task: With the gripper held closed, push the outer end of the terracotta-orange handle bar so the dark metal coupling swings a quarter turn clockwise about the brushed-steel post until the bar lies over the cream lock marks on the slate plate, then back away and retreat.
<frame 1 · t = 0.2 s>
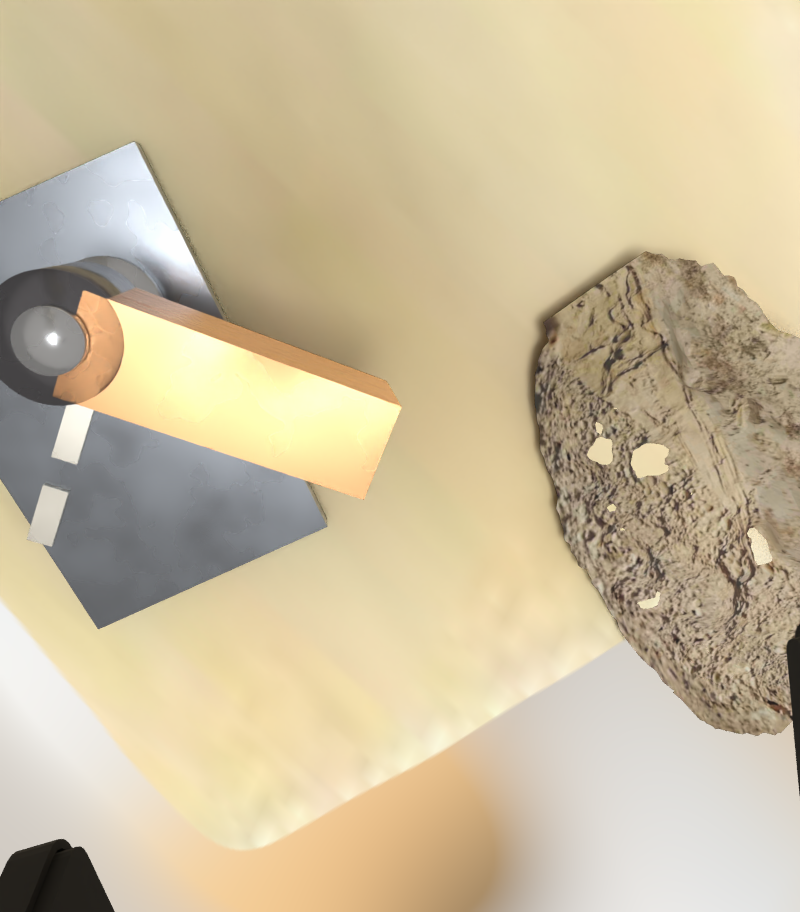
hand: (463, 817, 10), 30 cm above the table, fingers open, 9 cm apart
coupling: (201, 376, 30), point 8 cm above the table, hinge at 0.0°
post base: (120, 401, 37), on the table
stone: (700, 506, 44), on the table
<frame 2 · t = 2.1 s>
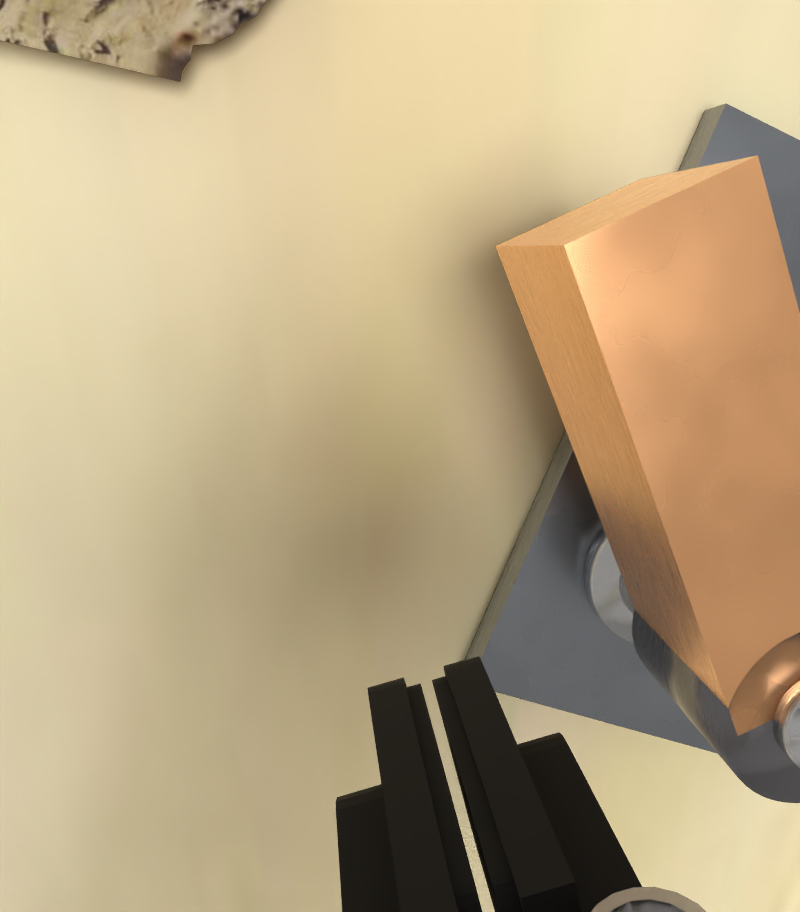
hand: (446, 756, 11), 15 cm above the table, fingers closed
coupling: (710, 502, 18), point 8 cm above the table, hinge at 0.0°
post base: (734, 470, 27), on the table
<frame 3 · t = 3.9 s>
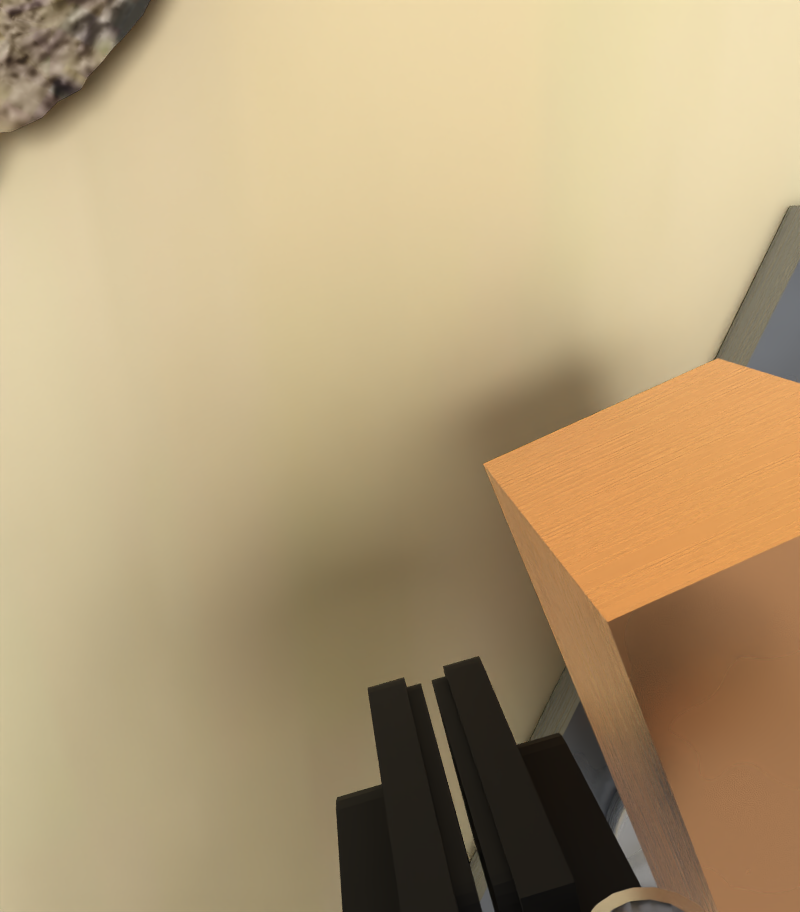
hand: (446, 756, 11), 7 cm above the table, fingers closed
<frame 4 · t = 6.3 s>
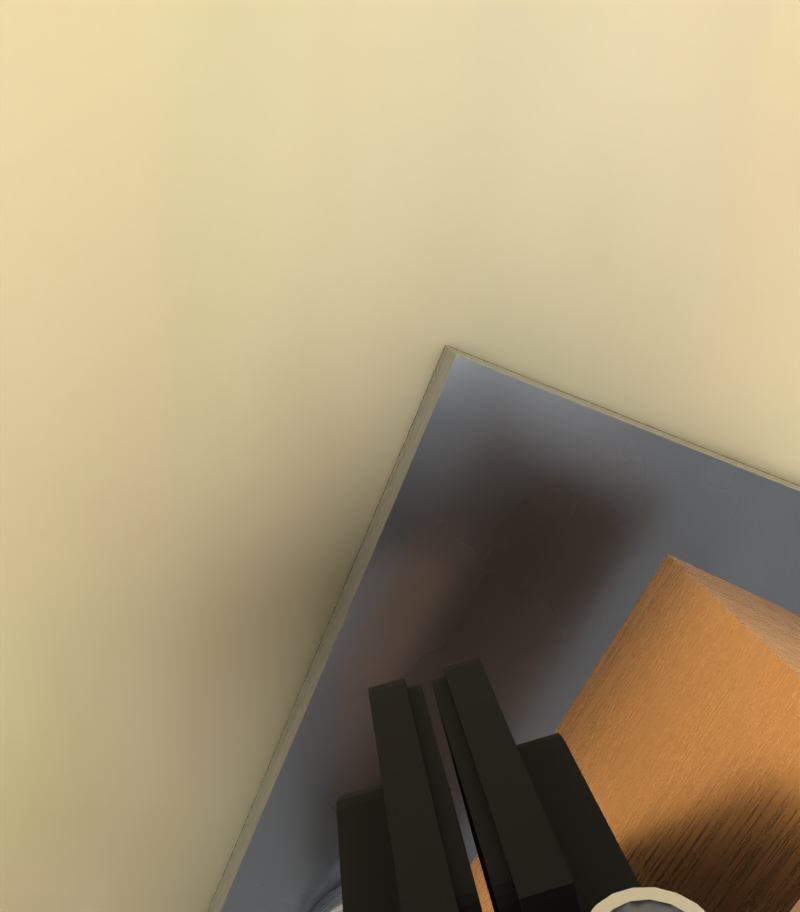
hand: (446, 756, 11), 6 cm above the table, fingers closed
post base: (523, 801, 19), on the table
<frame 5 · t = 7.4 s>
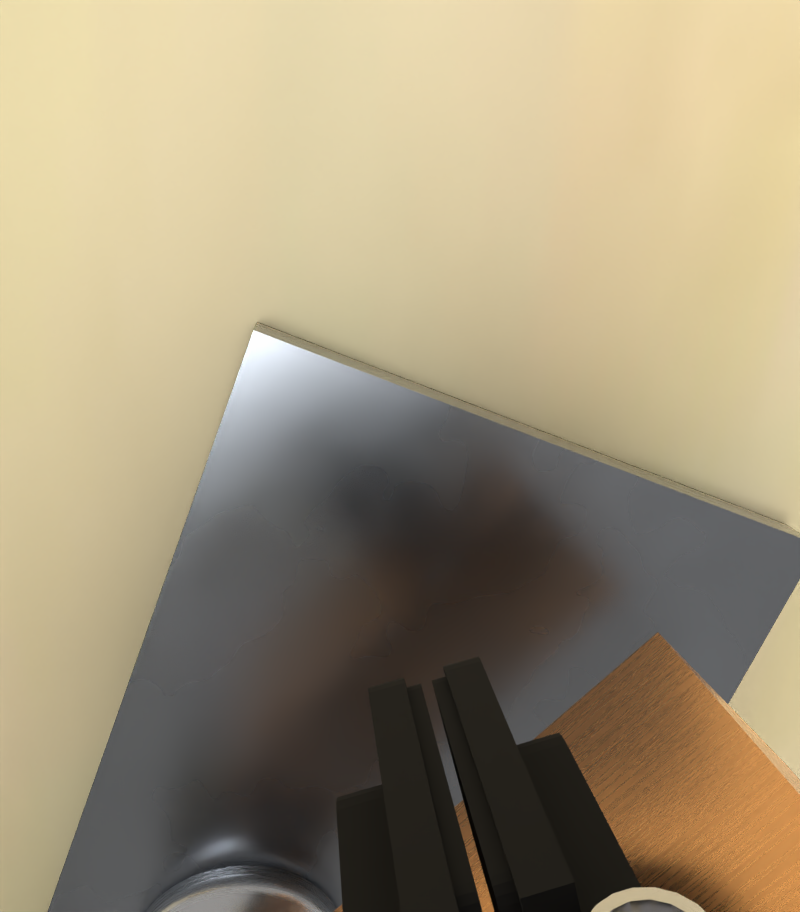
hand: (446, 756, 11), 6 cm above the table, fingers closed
post base: (375, 798, 19), on the table
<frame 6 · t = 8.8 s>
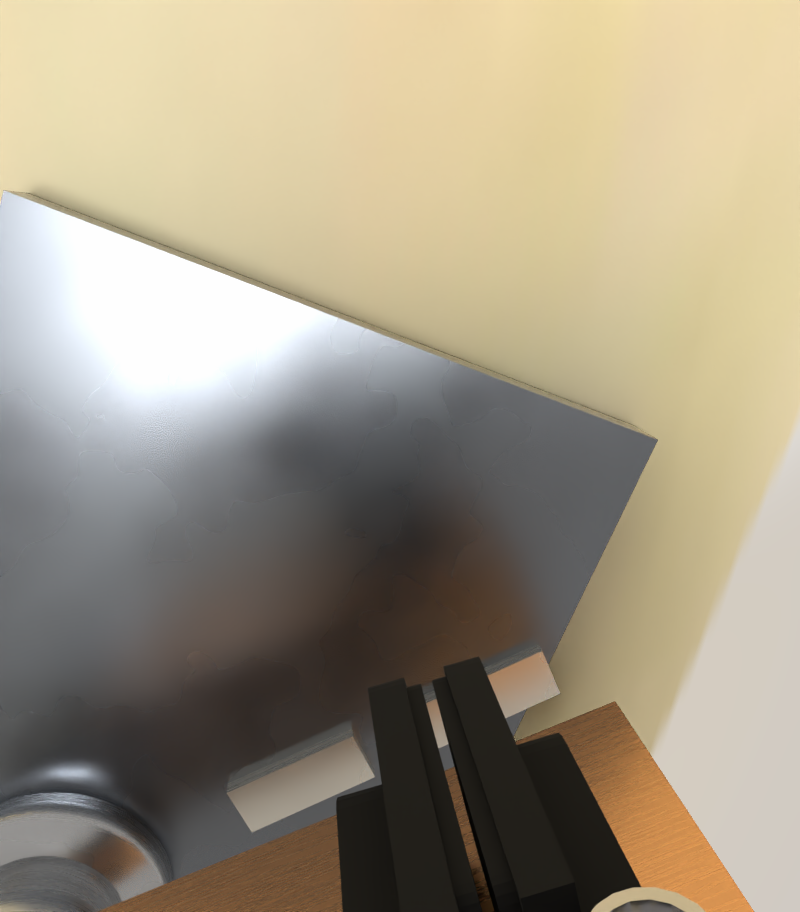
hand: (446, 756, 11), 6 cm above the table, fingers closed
post base: (206, 726, 18), on the table
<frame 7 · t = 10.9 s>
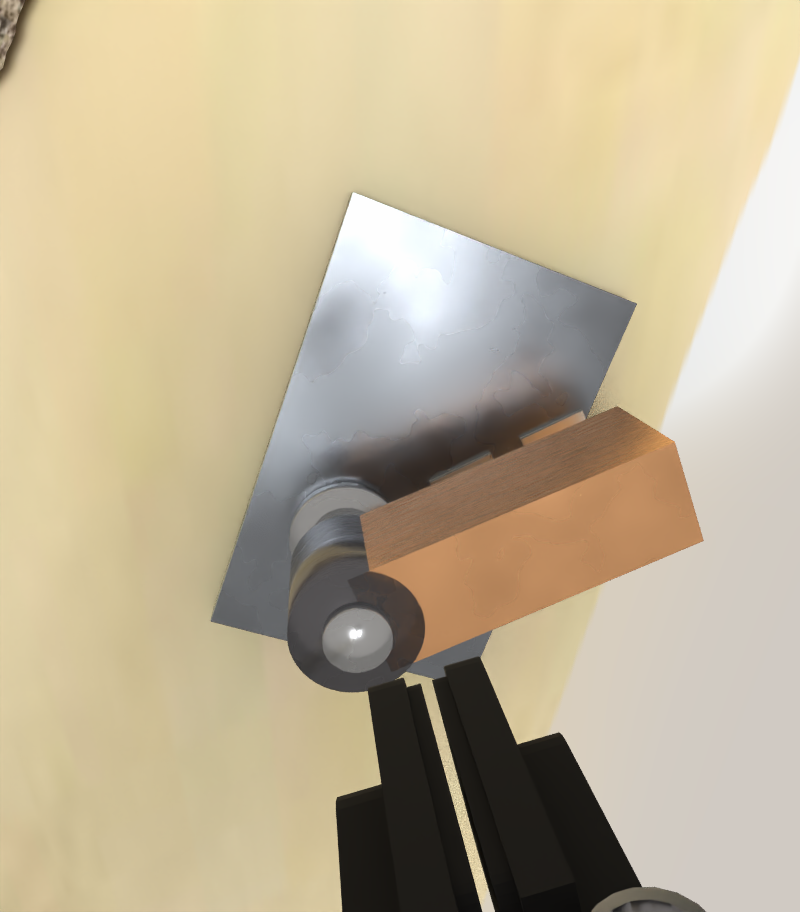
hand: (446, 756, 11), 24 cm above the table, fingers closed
coupling: (477, 549, 28), point 8 cm above the table, hinge at -92.6°
post base: (413, 459, 35), on the table
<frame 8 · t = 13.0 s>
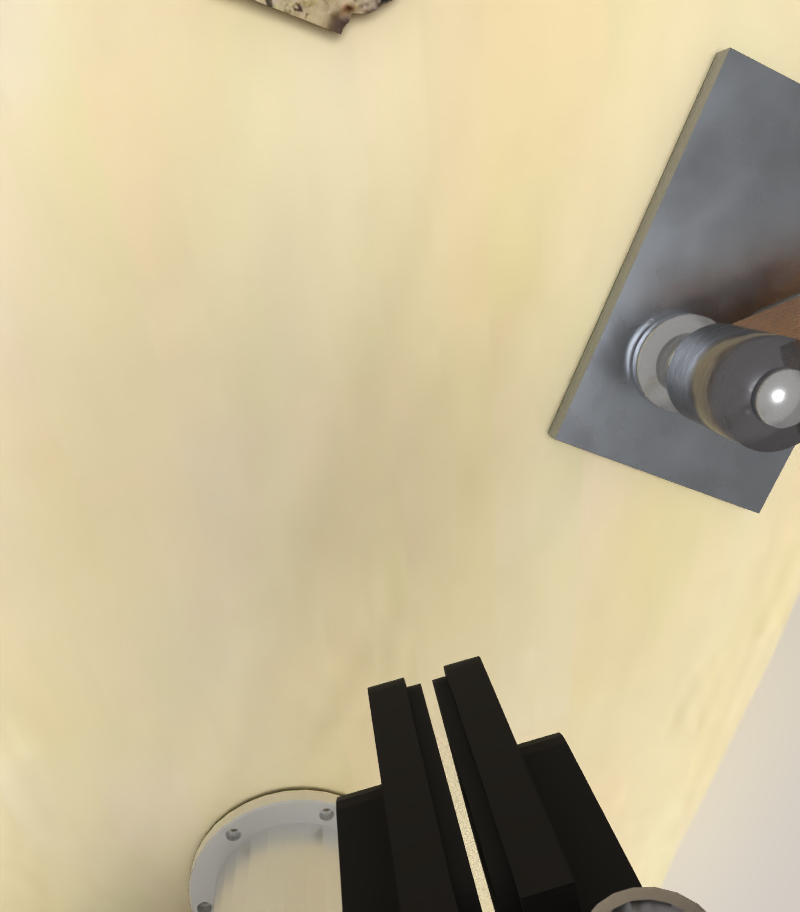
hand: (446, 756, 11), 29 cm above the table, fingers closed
post base: (733, 300, 40), on the table
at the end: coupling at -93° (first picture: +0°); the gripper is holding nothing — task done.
